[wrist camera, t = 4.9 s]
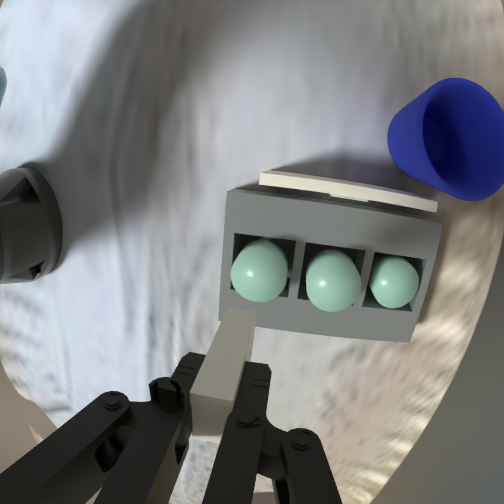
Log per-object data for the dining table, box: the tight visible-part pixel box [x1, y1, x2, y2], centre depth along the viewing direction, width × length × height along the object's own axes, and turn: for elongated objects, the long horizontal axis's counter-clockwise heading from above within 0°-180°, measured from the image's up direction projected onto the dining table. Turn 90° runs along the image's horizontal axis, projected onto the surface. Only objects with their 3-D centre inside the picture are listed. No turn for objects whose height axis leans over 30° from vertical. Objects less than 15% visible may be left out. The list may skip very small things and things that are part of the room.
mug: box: [388, 78, 504, 201], centre depth 19 cm, size 8×12×10 cm
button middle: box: [306, 249, 361, 312], centre depth 25 cm, size 4×4×3 cm
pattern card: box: [259, 170, 438, 212], centre depth 23 cm, size 13×1×7 cm, turn 84°
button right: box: [368, 253, 419, 308], centre depth 26 cm, size 4×4×3 cm
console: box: [218, 188, 443, 343], centre depth 27 cm, size 19×12×3 cm, turn 84°
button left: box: [231, 240, 288, 302], centre depth 25 cm, size 4×4×3 cm
